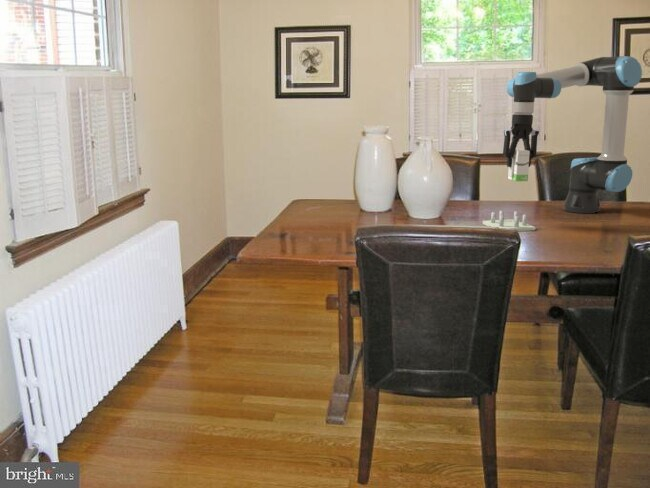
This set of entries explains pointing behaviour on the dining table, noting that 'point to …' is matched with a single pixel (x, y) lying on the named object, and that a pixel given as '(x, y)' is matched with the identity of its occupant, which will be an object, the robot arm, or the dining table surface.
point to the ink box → (520, 165)
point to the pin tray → (509, 222)
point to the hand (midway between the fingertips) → (517, 175)
